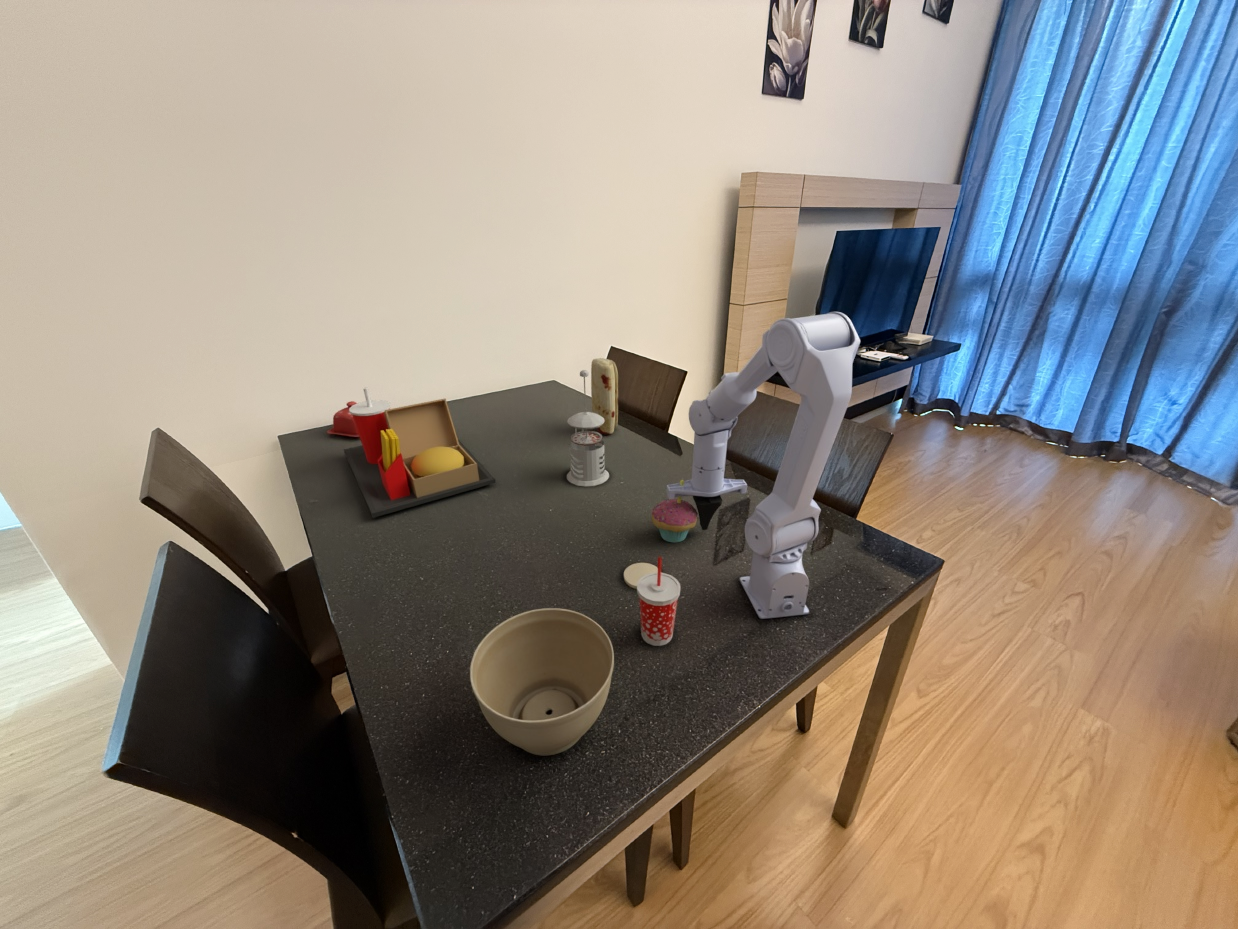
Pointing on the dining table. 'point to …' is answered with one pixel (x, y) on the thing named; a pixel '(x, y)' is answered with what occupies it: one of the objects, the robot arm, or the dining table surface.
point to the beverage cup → (658, 606)
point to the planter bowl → (543, 678)
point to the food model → (605, 393)
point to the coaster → (638, 573)
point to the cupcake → (674, 518)
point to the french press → (586, 448)
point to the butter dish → (344, 422)
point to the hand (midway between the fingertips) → (703, 527)
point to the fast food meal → (410, 455)
